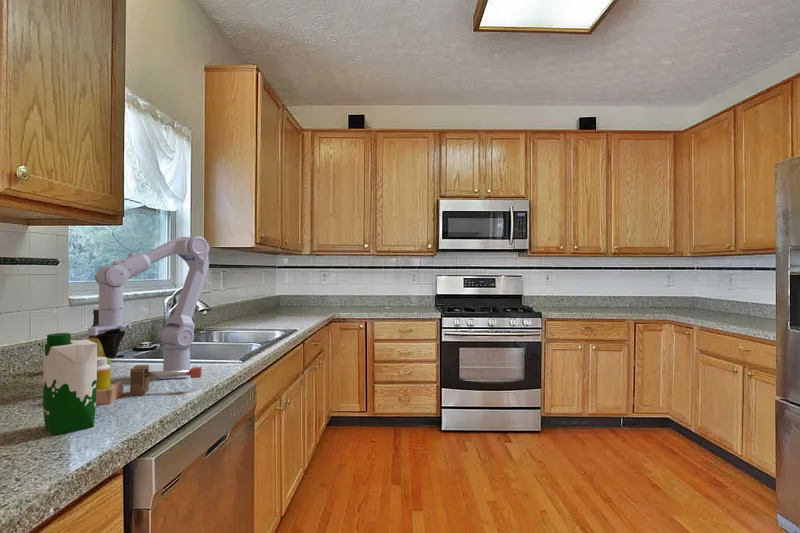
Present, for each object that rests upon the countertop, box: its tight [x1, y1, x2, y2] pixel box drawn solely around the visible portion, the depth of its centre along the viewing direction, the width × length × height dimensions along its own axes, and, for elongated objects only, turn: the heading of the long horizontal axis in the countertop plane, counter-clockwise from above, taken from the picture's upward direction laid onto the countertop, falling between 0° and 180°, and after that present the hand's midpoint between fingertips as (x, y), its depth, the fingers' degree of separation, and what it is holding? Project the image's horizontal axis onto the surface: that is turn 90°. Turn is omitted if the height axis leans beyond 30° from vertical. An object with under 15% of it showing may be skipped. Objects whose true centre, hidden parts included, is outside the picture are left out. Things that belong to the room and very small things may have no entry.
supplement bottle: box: [97, 357, 112, 390], centre depth 119 cm, size 6×6×10 cm
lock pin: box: [145, 366, 203, 379], centre depth 125 cm, size 2×16×2 cm, turn 104°
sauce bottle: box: [87, 308, 112, 366], centre depth 149 cm, size 6×6×20 cm
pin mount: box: [129, 364, 150, 397], centre depth 124 cm, size 5×3×7 cm, turn 13°
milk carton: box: [42, 332, 97, 436], centre depth 98 cm, size 9×9×20 cm
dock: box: [96, 381, 124, 405], centre depth 117 cm, size 9×10×3 cm
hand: (110, 357), depth 127 cm, fingers closed
